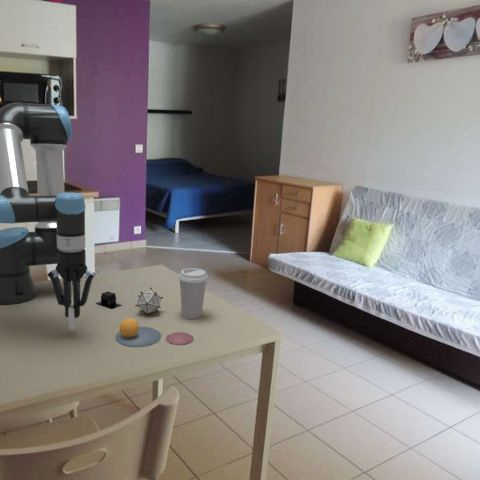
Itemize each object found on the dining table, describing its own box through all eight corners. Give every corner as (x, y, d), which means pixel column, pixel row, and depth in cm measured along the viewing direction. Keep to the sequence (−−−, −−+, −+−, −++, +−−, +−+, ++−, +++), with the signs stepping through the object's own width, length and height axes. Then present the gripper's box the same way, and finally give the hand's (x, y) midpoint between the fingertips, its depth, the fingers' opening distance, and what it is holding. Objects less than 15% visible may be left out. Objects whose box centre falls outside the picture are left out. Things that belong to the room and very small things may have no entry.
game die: (147, 321, 159) (151, 292, 163) (166, 318, 155) (170, 289, 159) (127, 314, 153) (132, 284, 157) (146, 311, 148) (151, 281, 152)
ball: (114, 334, 136) (123, 320, 135) (118, 326, 141) (127, 311, 140) (130, 344, 137) (140, 329, 135) (134, 335, 142) (143, 321, 141)
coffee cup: (199, 308, 163) (201, 266, 160) (210, 318, 155) (212, 275, 152) (173, 311, 159) (174, 268, 156) (183, 322, 151) (184, 277, 147)
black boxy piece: (129, 307, 162) (129, 295, 161) (113, 314, 156) (113, 300, 155) (103, 298, 168) (103, 286, 167) (87, 304, 162) (87, 292, 161)
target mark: (110, 345, 133) (110, 344, 133) (121, 326, 145) (121, 325, 145) (157, 348, 133) (157, 347, 133) (163, 328, 146) (163, 327, 146)
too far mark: (164, 344, 136) (164, 343, 136) (167, 332, 143) (167, 331, 143) (192, 345, 136) (192, 345, 136) (194, 333, 144) (194, 333, 144)
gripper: (42, 251, 129) (45, 331, 134) (90, 253, 129) (91, 334, 135) (52, 244, 136) (55, 320, 142) (98, 246, 136) (99, 323, 142)
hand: (72, 327), depth 138 cm, fingers closed
